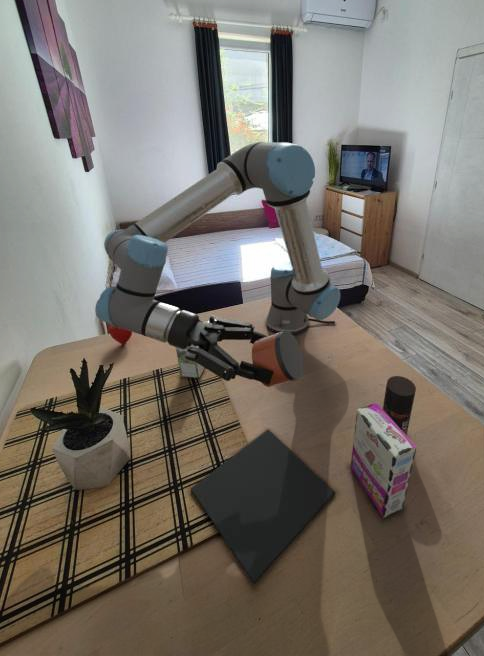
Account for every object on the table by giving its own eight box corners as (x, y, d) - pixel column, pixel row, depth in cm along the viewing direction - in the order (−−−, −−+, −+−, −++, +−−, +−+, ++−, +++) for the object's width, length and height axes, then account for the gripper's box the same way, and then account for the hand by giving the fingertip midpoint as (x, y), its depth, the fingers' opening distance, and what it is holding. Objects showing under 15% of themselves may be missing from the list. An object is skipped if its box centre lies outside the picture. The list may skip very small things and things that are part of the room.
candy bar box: (404, 508, 61) (418, 447, 54) (383, 520, 59) (394, 458, 53) (368, 457, 70) (377, 400, 64) (349, 466, 69) (355, 408, 62)
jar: (251, 379, 61) (251, 332, 68) (278, 392, 68) (276, 348, 75) (281, 370, 59) (278, 322, 65) (305, 385, 66) (301, 340, 72)
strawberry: (121, 337, 111) (114, 312, 107) (139, 340, 109) (134, 315, 105) (107, 347, 106) (101, 321, 102) (127, 351, 104) (120, 324, 100)
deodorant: (387, 420, 79) (395, 372, 73) (410, 435, 75) (420, 385, 69) (374, 435, 76) (381, 385, 70) (397, 451, 72) (407, 400, 66)
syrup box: (206, 365, 98) (201, 324, 92) (199, 379, 93) (193, 336, 87) (187, 364, 98) (181, 323, 93) (179, 377, 93) (172, 335, 87)
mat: (268, 430, 77) (268, 429, 76) (334, 493, 63) (334, 491, 63) (191, 490, 64) (190, 488, 64) (254, 584, 51) (253, 582, 50)
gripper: (192, 316, 79) (277, 345, 79) (142, 375, 58) (260, 415, 58) (198, 289, 77) (287, 320, 77) (149, 341, 55) (272, 383, 55)
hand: (275, 361), depth 67 cm, fingers closed on jar, 10 cm apart
